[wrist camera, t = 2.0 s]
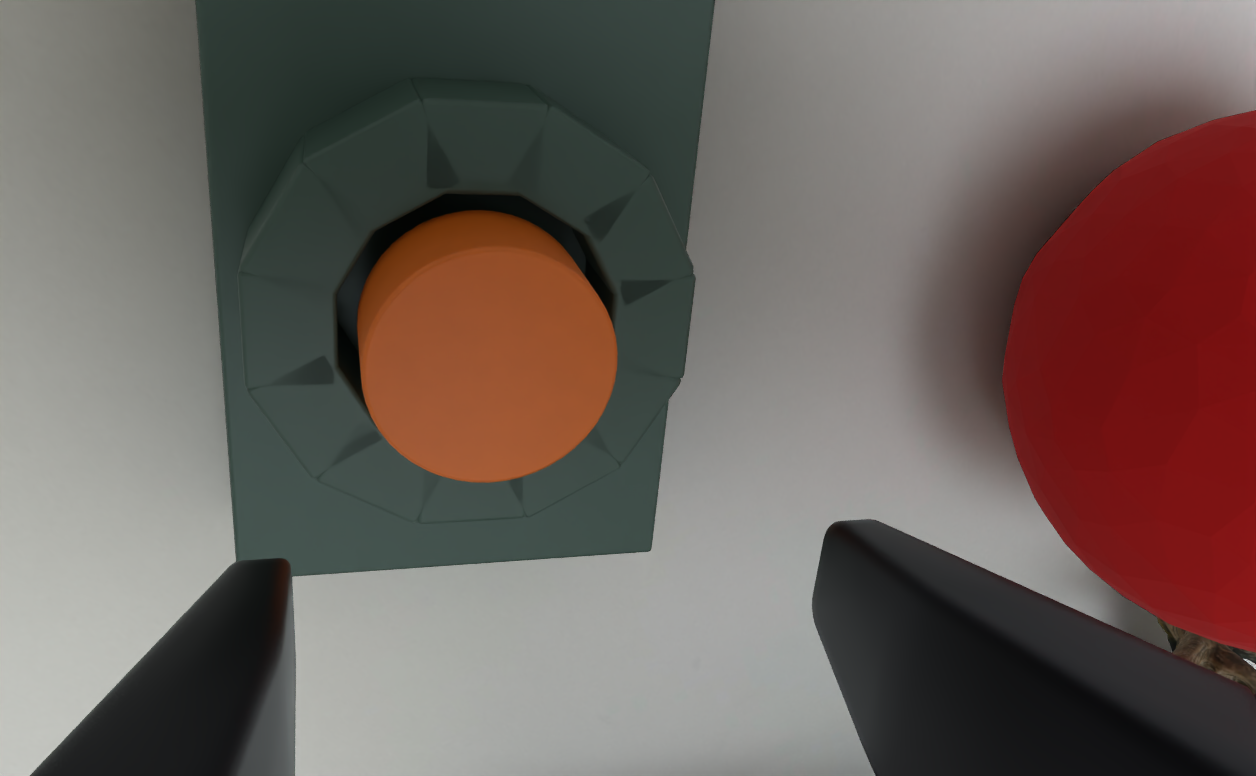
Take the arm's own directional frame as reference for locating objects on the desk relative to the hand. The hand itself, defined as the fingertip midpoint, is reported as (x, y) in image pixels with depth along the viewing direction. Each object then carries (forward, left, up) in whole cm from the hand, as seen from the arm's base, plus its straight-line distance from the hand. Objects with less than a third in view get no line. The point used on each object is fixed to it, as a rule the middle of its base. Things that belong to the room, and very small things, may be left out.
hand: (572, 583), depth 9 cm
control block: (0, 0, -10) cm, 10 cm away
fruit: (-1, -14, -10) cm, 17 cm away
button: (0, 0, -6) cm, 6 cm away
